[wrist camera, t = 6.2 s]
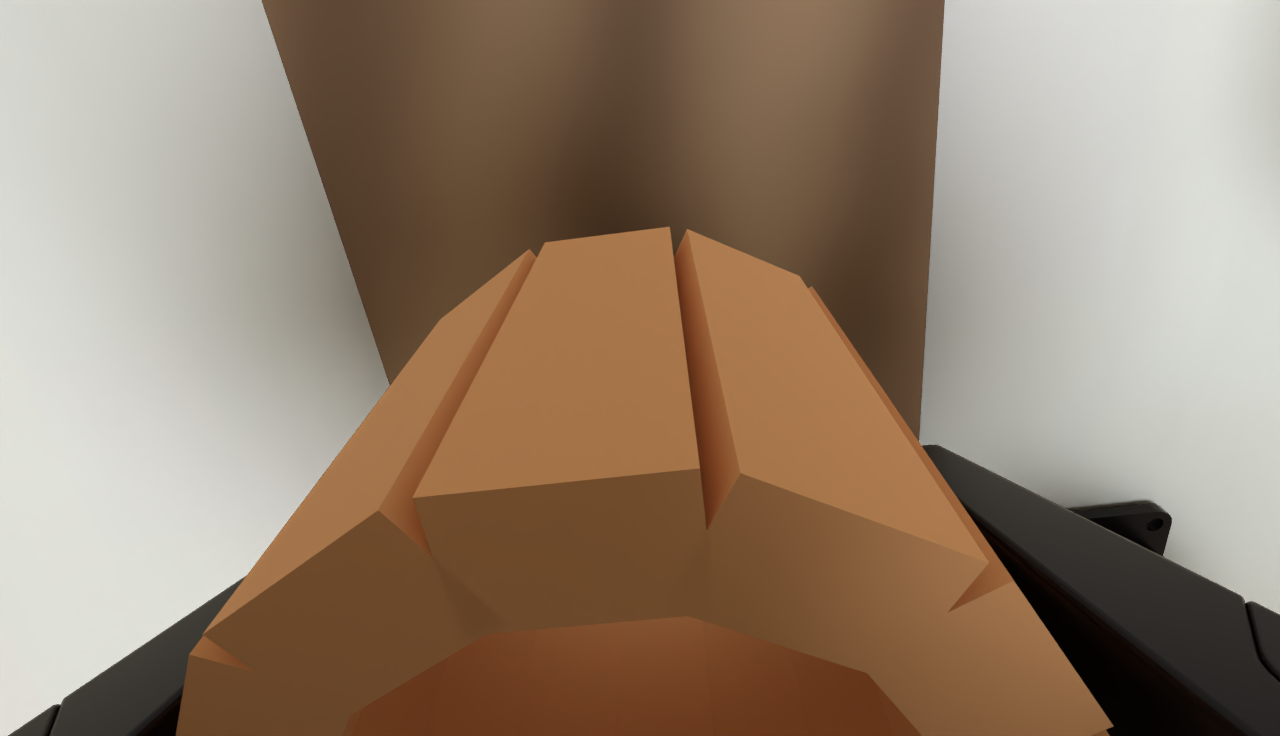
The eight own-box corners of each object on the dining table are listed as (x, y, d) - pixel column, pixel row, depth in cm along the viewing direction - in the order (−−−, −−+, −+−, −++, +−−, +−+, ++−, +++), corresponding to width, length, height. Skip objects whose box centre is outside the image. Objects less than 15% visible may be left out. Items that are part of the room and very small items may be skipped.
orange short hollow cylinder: (880, 199, 8) (1207, 415, 3) (870, 608, 10) (1037, 1032, 6) (346, 267, 8) (-24, 544, 4) (472, 643, 11) (349, 1064, 6)
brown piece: (924, -151, 14) (1128, -293, 8) (897, 480, 21) (996, 650, 15) (280, -47, 15) (40, -105, 9) (459, 525, 22) (390, 703, 16)
